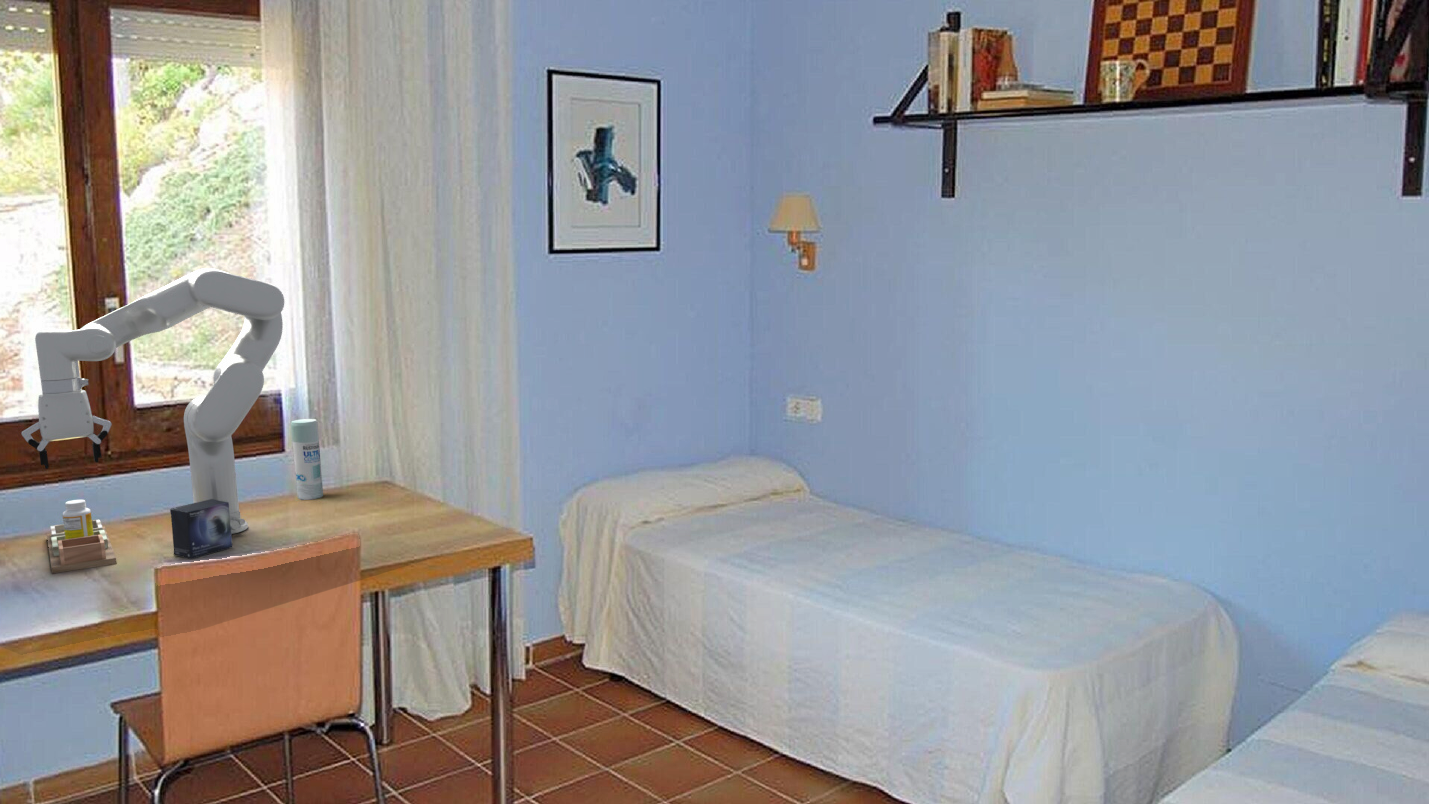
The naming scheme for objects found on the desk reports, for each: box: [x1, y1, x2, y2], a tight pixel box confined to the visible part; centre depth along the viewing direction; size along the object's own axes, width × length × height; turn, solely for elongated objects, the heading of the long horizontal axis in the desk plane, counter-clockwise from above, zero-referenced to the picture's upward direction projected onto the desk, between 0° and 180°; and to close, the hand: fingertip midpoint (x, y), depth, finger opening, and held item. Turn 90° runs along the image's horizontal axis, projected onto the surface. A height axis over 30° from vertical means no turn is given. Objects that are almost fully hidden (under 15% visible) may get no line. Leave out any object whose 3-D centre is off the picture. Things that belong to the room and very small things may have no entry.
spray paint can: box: [290, 418, 324, 501], centre depth 313 cm, size 6×6×20 cm
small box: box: [169, 499, 233, 560], centre depth 263 cm, size 11×6×10 cm, turn 148°
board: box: [46, 519, 117, 574], centre depth 268 cm, size 34×12×5 cm, turn 30°
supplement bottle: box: [61, 499, 94, 539], centre depth 266 cm, size 6×6×10 cm
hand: (71, 464), depth 264 cm, fingers open, 9 cm apart
